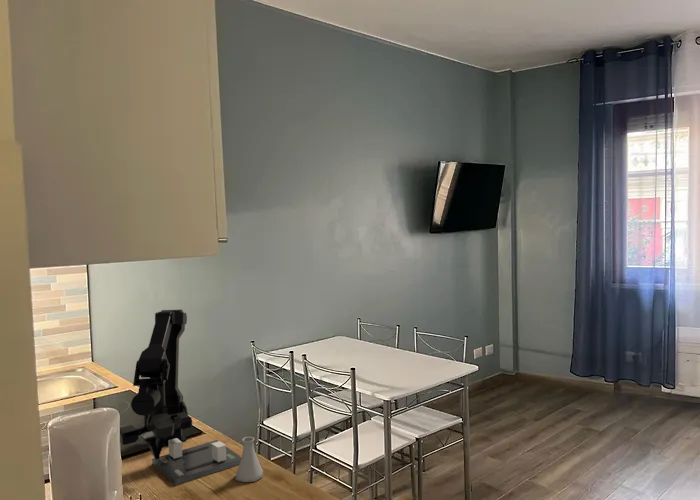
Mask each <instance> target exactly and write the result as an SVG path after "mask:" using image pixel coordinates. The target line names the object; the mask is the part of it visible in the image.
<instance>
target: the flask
mask: <svg viewBox="0 0 700 500" xmlns="http://www.w3.org/2000/svg"><path fill="white" fill-rule="evenodd" d="M241 443H242V444H243V446H242V447H243V449H242V455H241V457H242V458H241V461H240V464H239V465H238V468H237V471H236V474H235V481H238V482H242V483H249V482H250V483H251V482H257V481H258V480H260V479H262V478H264V477H263V476H264V470H263V468H262V466H261V464H260V461H259V459H258V456H257V453H256V451H255V446H254V443H255V437H254V436H245V437H243V438H242V439H241Z"/></svg>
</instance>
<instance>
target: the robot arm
mask: <svg viewBox="0 0 700 500" xmlns="http://www.w3.org/2000/svg"><path fill="white" fill-rule="evenodd" d="M187 320H188V315H187V313H186V312H184V310H183V309H163V310H161V311H157V312H155V313H154V326H153V329H152V331H151V336H150V339H149V344H148V347H146V348H144V350H142V351H141V354H139V358H138V360H136V363H135V370H134V376H133V384H132V386H133V387H138V386H139V388H138V392H136V394H135V395H134V396H133V397H132V399H131V403H130V407H131V410H132V411H133V413H135V414H136V415H138V416H142V418H143V419H141V423H142V424H143V426H141V427H137V428H136V427H134V426H133V425H132V424H130V425H126V426H122V427H119V428H120V442H119V443H121V444H122V445H125V446H127V445H130V444H134V443H136V442H137V441H138V440H139V438H140V439H142V441H144V442H146V444H147V445H148V447H149V450H150V451H151V454H152V456H153V458H155V459H159V457H160V456H161V453H162V449H163V447H164V446H165V447H169V445H168V440H171V439H175V438H177V439H179V440H180V441H181V442H182V443H183V442H186V441H188V440H187V437H185V436H184V435H183V430H186V429H190V428H192V427H193V418H192V417H191V416H190V415H189V413H188V409H187V405H186V403H185V401H184V394H182V392H181V391H180V389H179V355H180V354H179V353H180V351H179V350H180V349H179V348H180V338H181V336H182V335H183V333H184V332H185V328H186V325H187V322H188V321H187Z"/></svg>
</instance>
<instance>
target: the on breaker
mask: <svg viewBox="0 0 700 500" xmlns="http://www.w3.org/2000/svg"><path fill="white" fill-rule="evenodd" d="M217 441H218V440H217ZM226 447H227V445H226V444H225V443H223V442H222V441H220V440H219V441H218V442H215V443H212V458H213V459H214V460H216V461H217V462H220V461H224V460H226Z"/></svg>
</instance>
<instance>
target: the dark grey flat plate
mask: <svg viewBox="0 0 700 500" xmlns="http://www.w3.org/2000/svg"><path fill="white" fill-rule="evenodd" d="M215 442H218V440H216V439H215V440H213V441H209V442H205V443H201V444H198V445H196V446H192V447H188V448H185V449H182V456H181V457H178V458H175V459H174V458H173V457H171V456H170V455H169V453H168V454H164V455H160V456H159V459H155V458H154V457H153V458H151V465H152V466H154V467H155V468H156V469H157V470H158V471H159V472H160V473H161V474H162V475H163V476H164V477H166V478H167V479H168V481H170V482H171V483H172V484H173V485H174V486H179V485H181V484H184V483H187V482H190V481H193V480H196V479H201V478H202V477H206V476H209V475H211V474H214V473H217V472H220V471H223V470H227V469H230V468H233V467H236V466H239V464H240V461H241V458H242V455H239V454H237V453H236V452H235V451H234V450H232V449H230V448H229V447H227V446H226V460H224V461H220V462H217V461H216V460H214V459H213V458H212V443H215Z"/></svg>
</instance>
